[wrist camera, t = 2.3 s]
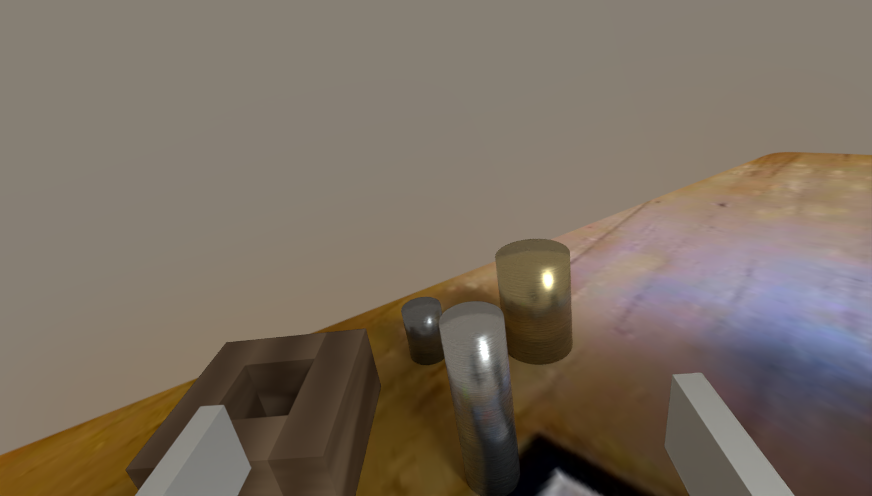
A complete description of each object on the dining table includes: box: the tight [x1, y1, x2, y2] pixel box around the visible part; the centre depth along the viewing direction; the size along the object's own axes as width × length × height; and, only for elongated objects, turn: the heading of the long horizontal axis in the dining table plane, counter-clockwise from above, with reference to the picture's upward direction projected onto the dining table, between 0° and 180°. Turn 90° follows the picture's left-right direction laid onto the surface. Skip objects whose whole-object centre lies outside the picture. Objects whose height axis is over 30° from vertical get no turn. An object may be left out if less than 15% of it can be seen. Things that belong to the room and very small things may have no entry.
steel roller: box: [439, 301, 520, 496], centre depth 26 cm, size 4×4×12 cm
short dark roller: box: [401, 297, 445, 365], centre depth 39 cm, size 4×4×5 cm
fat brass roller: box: [495, 239, 572, 365], centre depth 37 cm, size 6×6×9 cm
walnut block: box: [126, 329, 381, 496], centre depth 31 cm, size 12×12×6 cm
